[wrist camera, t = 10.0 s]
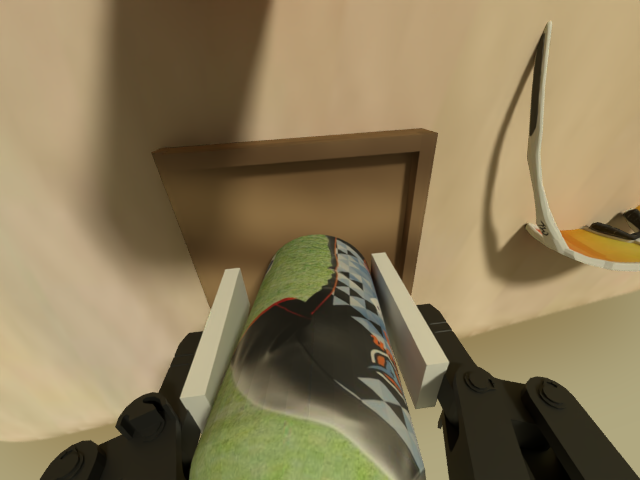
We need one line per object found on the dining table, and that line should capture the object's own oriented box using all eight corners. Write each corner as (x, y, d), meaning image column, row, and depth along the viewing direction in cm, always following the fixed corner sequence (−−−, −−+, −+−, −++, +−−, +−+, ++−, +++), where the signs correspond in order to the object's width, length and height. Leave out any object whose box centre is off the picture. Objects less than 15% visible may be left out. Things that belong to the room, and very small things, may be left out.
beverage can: (339, 313, 18) (406, 610, 8) (233, 289, 16) (135, 648, 6) (383, 240, 15) (575, 549, 5) (263, 200, 13) (174, 581, 3)
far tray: (160, 148, 13) (143, 156, 12) (421, 128, 14) (438, 133, 13) (225, 331, 20) (220, 350, 19) (397, 310, 21) (405, 328, 20)
